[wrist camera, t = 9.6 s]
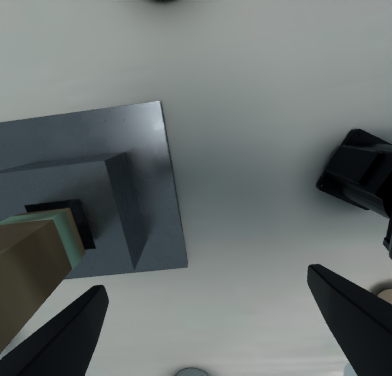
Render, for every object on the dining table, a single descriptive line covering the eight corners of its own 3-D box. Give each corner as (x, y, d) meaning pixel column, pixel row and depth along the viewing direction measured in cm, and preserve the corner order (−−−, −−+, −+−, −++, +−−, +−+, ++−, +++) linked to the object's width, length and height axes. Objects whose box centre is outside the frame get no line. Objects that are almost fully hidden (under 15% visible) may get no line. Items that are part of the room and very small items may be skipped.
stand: (161, 101, 18) (146, 93, 13) (187, 262, 24) (185, 301, 19) (-23, 126, 19) (-104, 128, 14) (44, 276, 25) (3, 317, 20)
